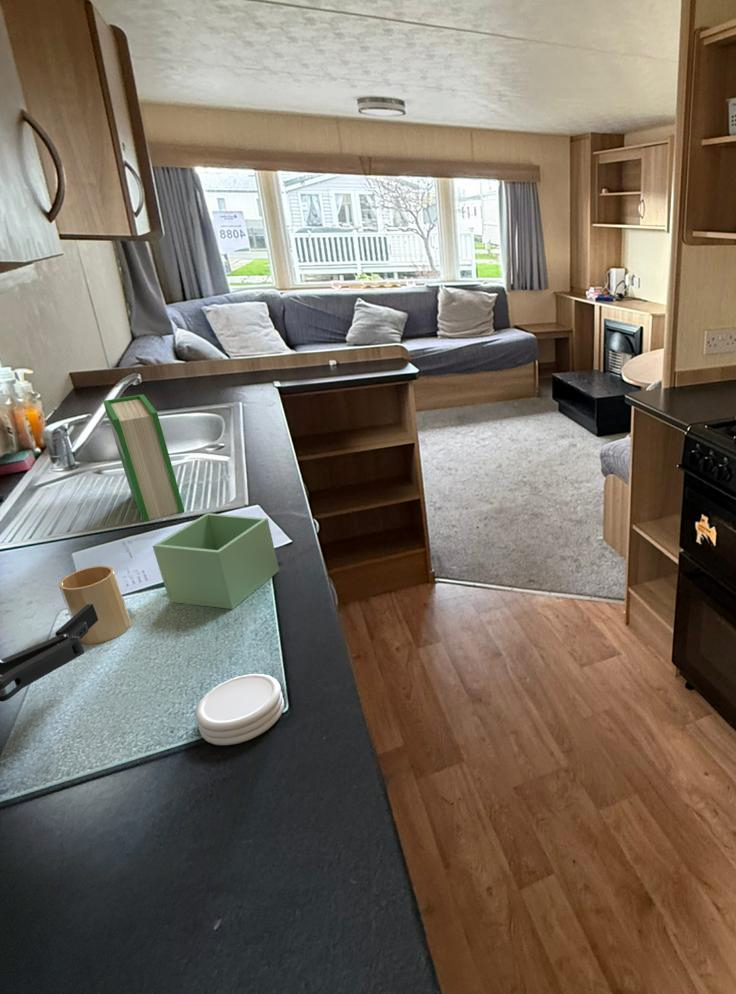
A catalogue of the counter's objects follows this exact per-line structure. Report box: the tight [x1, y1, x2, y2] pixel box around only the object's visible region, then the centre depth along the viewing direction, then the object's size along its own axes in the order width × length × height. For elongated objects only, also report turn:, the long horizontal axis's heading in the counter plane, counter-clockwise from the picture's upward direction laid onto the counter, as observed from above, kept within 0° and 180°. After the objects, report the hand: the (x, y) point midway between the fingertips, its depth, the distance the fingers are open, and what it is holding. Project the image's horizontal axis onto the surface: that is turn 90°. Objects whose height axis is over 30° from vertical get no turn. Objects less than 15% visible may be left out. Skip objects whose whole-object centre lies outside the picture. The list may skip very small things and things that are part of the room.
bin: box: [152, 512, 280, 610], centre depth 114 cm, size 12×12×11 cm
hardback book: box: [102, 394, 186, 523], centre depth 141 cm, size 18×7×24 cm, turn 41°
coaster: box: [195, 673, 285, 746], centre depth 86 cm, size 10×10×4 cm
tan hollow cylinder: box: [58, 565, 132, 645], centre depth 102 cm, size 7×7×10 cm
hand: (42, 614), depth 92 cm, fingers open, 13 cm apart
